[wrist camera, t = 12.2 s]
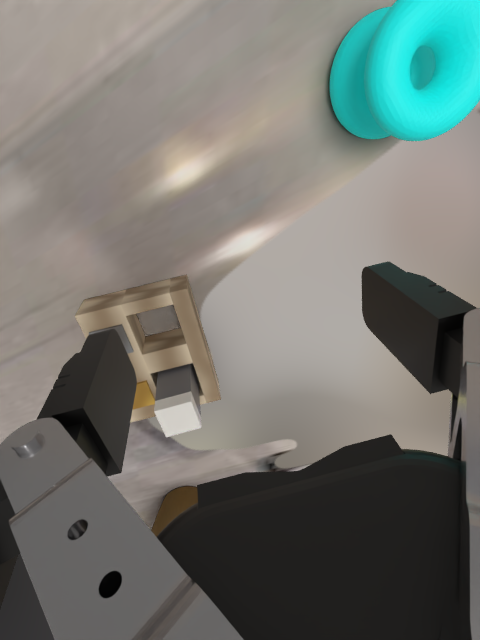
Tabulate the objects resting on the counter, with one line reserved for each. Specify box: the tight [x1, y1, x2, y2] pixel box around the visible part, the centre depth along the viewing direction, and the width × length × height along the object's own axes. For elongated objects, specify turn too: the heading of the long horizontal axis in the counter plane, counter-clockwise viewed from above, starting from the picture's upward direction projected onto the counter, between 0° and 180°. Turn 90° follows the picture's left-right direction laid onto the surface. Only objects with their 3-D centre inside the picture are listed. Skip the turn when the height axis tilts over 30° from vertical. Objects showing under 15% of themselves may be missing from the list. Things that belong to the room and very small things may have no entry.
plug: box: [154, 363, 202, 437], centre depth 41 cm, size 4×4×10 cm
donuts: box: [330, 0, 480, 141], centre depth 29 cm, size 10×10×10 cm
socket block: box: [75, 275, 221, 423], centre depth 41 cm, size 12×16×4 cm
